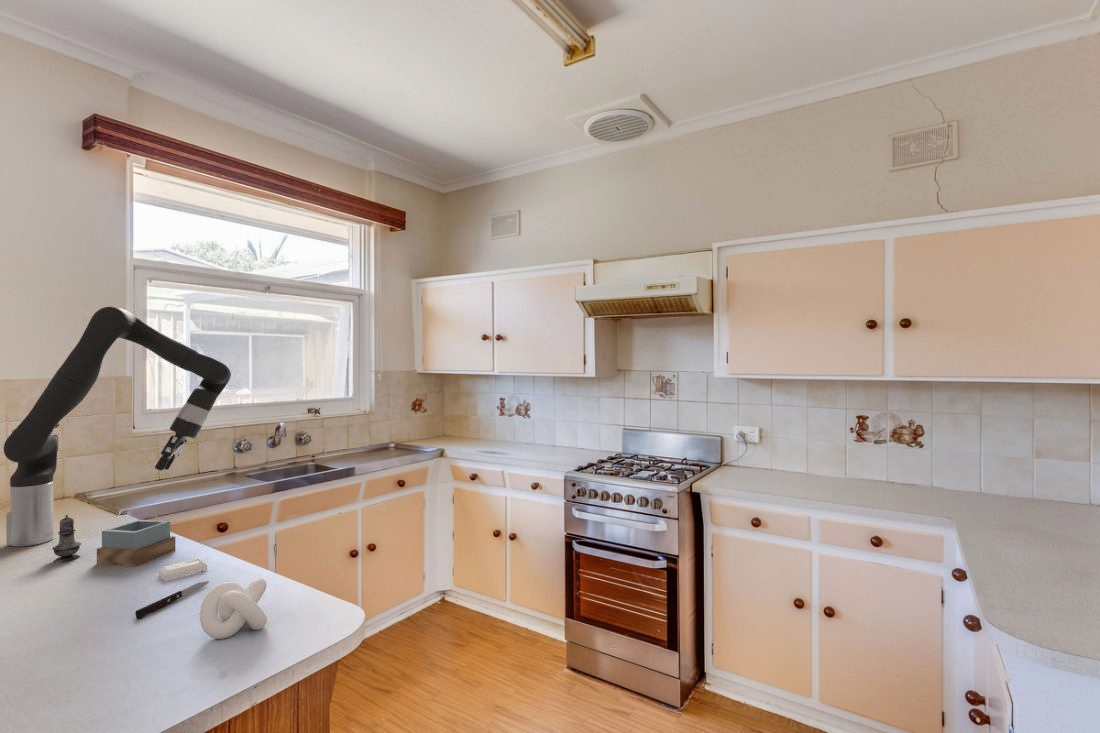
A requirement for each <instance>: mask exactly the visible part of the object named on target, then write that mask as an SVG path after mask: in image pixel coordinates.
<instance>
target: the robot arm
mask: <svg viewBox="0 0 1100 733" xmlns="http://www.w3.org/2000/svg"><path fill="white" fill-rule="evenodd" d="M118 338H119V339H123V340H126V341H129V342H132V343H135V344H137V345H140V346H141V347H144V348H146V349H147V350H149V351H150V352H153V353H154V354H156V355H157V356H158V357H160V358H161V359H163V360H165V361H167V362H168V363H170V364H172V365H174V366H176V367H178V368H180V369H182V370H184V371H186V372H190V373H193V374H195V375H196V376H199V377H201V378H202V380H201V382H200V383H199V385H198V386H197V387H196V388H194V389H193V390H192V392H191V393H190V395H189V397H188V398H187V400H186V402H185V403H184V405H182V407H181V408H180V410H179V412H178V413H177V415H176V416H175V418H174V420H173V421H172V424H171V425H170V427H169V430H170V431H172V432H175V434H174V435H170V436H169V439H168V440H167V442H166V444H165V446H164V447H163V449H162V450H161V451H160V458H159V459H158V460H157V463H156V464H155V466H154V469H156V470H158V471H164V470H166V471H168V470H169V469H170V468H171V466H172V464H173V463H174V461H175V459H177V458H178V457H179V456H180V454H181V453H182V450H183V448H184V447H185V446H186V444H187V442H188V439H187V438H191V439H196V438H197V436H198V434H199V432H200V431H201V429H202V427H203V425H204V423H205V422H206V421H207V418H208V416H209V413H210V411H211V410H212V408H213V407H214V404H215V403H216V401H217V398H218V397H219V395H221V393H222V392H223V391H224V389H225V388H226V386H227V385H228V384H229V382H230V380H231V377H232V372H231V369H230V368H229V366H228V365H226V364H225V363H223V362H221V361H220V360H217V359H215V358H214V357H211V356H209V355H206V354H203V353H202V352H200V351H198V350H197V349H195V348H193V347H191V346H189V345H187V344H184V343H183V342H181V341H178V340H177V339H175V338H171V337H170V336H168V335H166V334H164V333H162V332H160V331H158V330H157V329H155V328H153V327H152V326H149V325H148V324H147V323H146V322H144V321H142V320H141V319H140V318H138V317H137V316H136V315H134V314H133V313H132V312H130V311H129V310H127V309H126V308H125V309H124V308H121V307H116V306H105V307H101V308H100V309H98V310H97V311H95V313H94V314H93V315H92V317H91V318H90V320H89V321H88V324H87V325H86V328H85V330H84V331H83V333H82V335H81V337H80V339H79V340H78V342H77V343H76V345H75V346H74V348H73V349H72V351H71V352H70V353H69V354H68V356H67V357H66V359H65V360H64V361H63V362H62V364H61V366H59V368H57V370H56V372H55V374H54V375H53V377H52V378H51V380H50V381H49V382H48V384H47V386H46V387H45V389H44V390H43V392H42V393H41V395H40V396H39V398H38V399H37V401H36V402H35V403H34V405H33V406H32V408H31V410H30V411H29V413H28V414H27V415H26V416H25V418H24V419H23V420H22V421H21V422H20V423H19V424H18V426H17V427H16V428H15V429H14V430H13V431H12V432H11V434H9V435H8V437H7V438H6V440H5V441H4V444H3V454H4V456H5V457H6V459H7V460H9V461H10V462H13V463H17V467H16V469H15V471H14V472H13V474H12V475H11V476H10V478H9V487H10V488H9V498H10V501H9V503H10V505H9V506H10V507H9V508H10V509H9V510H10V511H8V512H6V513H5V515H6V516H5V519H6V521H5V526H6V527H5V528H6V530H5V531H6V533H5V534H6V536H5V537H6V539H5V540H6V542H5V543H6V547H7V546H11V547H18V548H19V547H28V546H34V545H40V544H44V543H46V542H50V541H51V540H53V539H54V538H55V537H54V534H55V532H54V526H55V524H54V519H55V518H54V517H55V516H54V475H55V473H56V471H57V463H58V462H57V461H58V441H57V438H56V436H55V434H54V433H53V431H54V429H55V428H56V426H57V425H58V424H59V423H60V422H61V421H62V420H63V419H64V418H65V417H66V416H67V415H68V414H70V412H72V411H73V410H74V409H75V408H76V407H77V406H78V405H79V404H81V403H82V401H83V400H84V399H85V398H86V396H87V395H88V394H89V393H90V391H91V389H92V388H93V386H94V385H95V383H96V381H97V380H98V378H99V375H100V371H101V368H102V364H103V360H104V358H105V355H106V354H107V352H108V351H109V349H110V348H111V347H112V346H113V344H114V343H115V342H116V341H117V340H118Z"/></svg>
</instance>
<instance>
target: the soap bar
mask: <svg viewBox="0 0 1100 733" xmlns="http://www.w3.org/2000/svg"><path fill="white" fill-rule="evenodd" d="M206 570H207V571H208V564H206V563H205V562H203V560H201V559H199V558H196V559H195V558H194V559H190V560H187V561H183V562H179V563H178V562H177V563H174V564H170V565H166V566H163V567H161V569H159V571H158V578H160V579H162V581H163V582H169V581H172V579H173V580H176V579H175V578H177V579H179V578H178V577H181V578H183V577H182V576H185V577H187V576H186V575H189V574H192V575H194V574H193V573H196V574H199V573H198V572H200V573H202V572H201V571H204V572H207V571H206ZM189 576H190V575H189ZM168 580H169V581H168Z"/></svg>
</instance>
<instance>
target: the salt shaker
mask: <svg viewBox="0 0 1100 733" xmlns="http://www.w3.org/2000/svg"><path fill="white" fill-rule="evenodd" d="M74 522H75V521H74V519H73V518H72V517H69V514H66V515H64V518H62V519H60V520H59V532H57V534H58V535H59V536H58V537H59V538H58V543H57V545H54V546H53V547H51V550H52V551H53V554H54V555H56V556H57V557H56V558H55V559H54V560H53V563H56V562H61V563H67V562H73V561H75V560H78V559H80V558H81V556H80V555H78V554H77V552H79V550H80V547H81V545H82V543H81V542H79V541H76V540H75V532H76V529H75V526H74V524H75V523H74Z"/></svg>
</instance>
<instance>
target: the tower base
mask: <svg viewBox="0 0 1100 733" xmlns="http://www.w3.org/2000/svg"><path fill="white" fill-rule="evenodd" d="M175 550H176V536H172V535H170V538H167V539H165V540H162V541H159V542H156V543H154V544H151V545H148V546H145V547H143V548H140V549H137V550H126V549H110V548H102V546H101V547H98V548H96V565H104V566H105V565H107V566H118V565H120V566H119V567H122V566H123V567H132V566H133V567H136V568H137V567H139V566H141V565H144V564H147V563H149V562H151V560H152V561H153V560H156V558H157V559H158V557H159V558H162V557H163V555H164V556H166V555H165V554H167V555H169V554H171V553H170V552H172V551H174V552H176V551H175ZM168 553H169V554H168ZM172 553H173V552H172ZM161 556H162V557H161Z"/></svg>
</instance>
